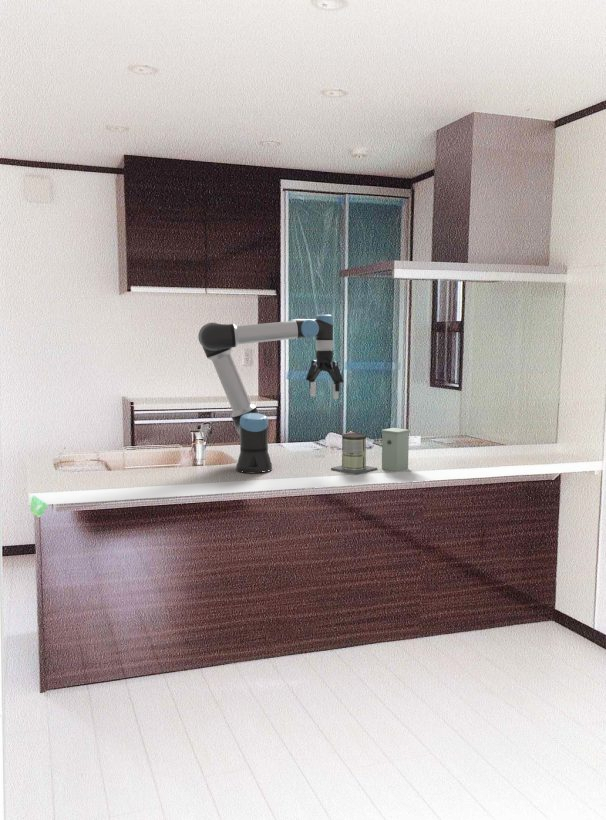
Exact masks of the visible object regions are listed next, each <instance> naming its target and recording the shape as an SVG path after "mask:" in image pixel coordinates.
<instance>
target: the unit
mask: <svg viewBox="0 0 606 820" xmlns="http://www.w3.org/2000/svg"><path fill="white" fill-rule="evenodd" d="M380 432H381V433H382V434H381V435H382V436H381V437H382V439H381V469H383V470H387V471H392V472H400V471H405V470H408V469H409V442H410V440H409V439H410V437H409V436H410V435H409V434H410V433H411V430H410V429H406V428H400V427H399V428H398V427H391V428H384V429H381V431H380Z"/></svg>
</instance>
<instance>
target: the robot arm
mask: <svg viewBox="0 0 606 820" xmlns="http://www.w3.org/2000/svg"><path fill="white" fill-rule="evenodd" d="M314 337H315V349H316V351H315V358H316V359H312V360H311V363H310V367H309V369H308V372H307V375H306V378H305V380H306V381H309V382H308V383H309V389H310V397H316V396H317V393H316V391H317V383H316V382H317V381H316V379H317V377H318V376H319V375H320V373H321V372H323V371H324V372H326V373H328V375H329V376H330V378H331V379H332V382H333V384H332V399H333V400H338V399H339V392H340V384H343V383H344V379H343V376H342V373H341V371H340V368H339V362H338V360H337V361H333V358H334V351H333V349H334V317H333V315H331V314H316V316H315V318H313V319H311V318H307V319H306V318H294V319H293V318H292V319H290V320H286V321H278V322H267V323H257V324H256V323H255V324H245V325H243V324H242V325H236V324H234V323H230V324H222V323H217V322H208V323H206V324H204V325H203V326H201V328H200V329H199V332H198V341H199V344H200V345H201V347H202V349H203V351H204V354H205V357H206V359H208V360H210V361H211V362H212V364H213V367H214V369H215V371H216V374H217V377H218V379H219V381H220V383H221V387H222V388H223V391H224V393H225V396H226V398H227V400H228V402H229V405H230V408H231V410H232V413H231V415H230V416H231V420H232V422H233V424H234V426H235V432H236V433H237V434H238V435H239V440H240V441H239V443H240V444H239V445H240V446H239V447H240V449H239V450H240V451H239V456H238V459H237V463H236V471H237V470H238V471H237V472H239V471H243V472H262V471H268V470H271V469H272V470H273V464H272V462H271V458H270V454H269V441H268V440H269V430H268V429H269V420H268V417H267V415H265V414H262V413H259V411H258V410H259V409H257V406H256V405H255V404H253V403H252V402H251V400H250V398H249V396H248V393H247V390H246V388H245V386H244V383H243V380H242V378H241V376H240V374H239V370H238V368H237V365H236V364H235V361H234V359H233V356H232V353H231V352H232V350H233V348H237V347H238V345H245V344H246V345H247V344H255V343H264V342H265V343H266V342H274V341H283V340H294V339H303V338H307V339H308V338H309V339H310V338H314ZM272 470H271V471H272ZM243 472H242V473H243Z"/></svg>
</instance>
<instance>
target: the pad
mask: <svg viewBox="0 0 606 820" xmlns="http://www.w3.org/2000/svg"><path fill="white" fill-rule="evenodd" d="M331 469H332V470H331ZM330 470H331V471H335V470H336V471H335V472H340V471H341V473H345V472H346V474H351V475H360V474H365V473H370V472H373V471H377V470H378V467H376V466H369V465H366V468H365V469H363V470H346V469H343V468H342V465H338V466H333V467H331V468H330Z"/></svg>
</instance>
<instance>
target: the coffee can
mask: <svg viewBox="0 0 606 820" xmlns="http://www.w3.org/2000/svg"><path fill="white" fill-rule="evenodd" d="M341 441H342V443H341V448H342V449H341V452H342V453H341V456H342V457H341V458H342V459H341V462H342V463H341V466H342V468H343V469H346V470H363V469H365V468H366V466H367V463H366V462H367V434H365V433H357V432H356V433H353V432H350V433H343V434H341Z"/></svg>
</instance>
